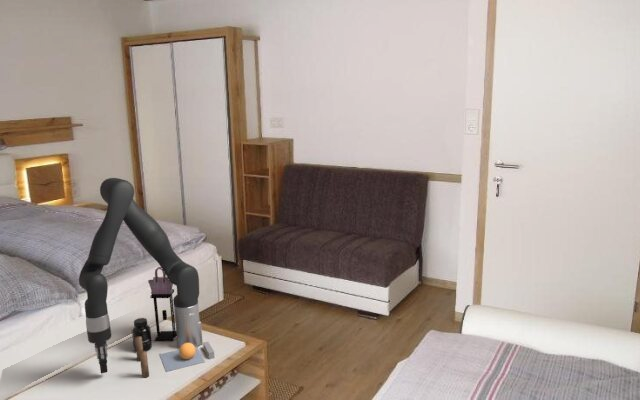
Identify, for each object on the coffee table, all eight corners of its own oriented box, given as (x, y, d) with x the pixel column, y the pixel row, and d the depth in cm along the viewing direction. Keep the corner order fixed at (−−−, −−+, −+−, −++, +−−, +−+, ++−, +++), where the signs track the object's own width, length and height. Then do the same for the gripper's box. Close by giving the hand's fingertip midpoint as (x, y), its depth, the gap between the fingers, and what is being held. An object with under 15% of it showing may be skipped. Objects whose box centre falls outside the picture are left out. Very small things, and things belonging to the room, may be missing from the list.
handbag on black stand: (182, 332, 217) (175, 264, 211) (176, 341, 210) (169, 270, 204) (157, 332, 218) (150, 264, 212) (150, 341, 211) (143, 270, 205)
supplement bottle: (146, 353, 201) (143, 324, 198) (130, 352, 202) (127, 323, 200) (155, 345, 207) (152, 317, 205) (139, 344, 209) (136, 316, 206)
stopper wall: (208, 347, 204) (208, 341, 204) (214, 357, 196) (214, 351, 196) (203, 348, 203) (203, 342, 203) (209, 359, 195) (208, 352, 195)
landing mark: (196, 346, 206) (196, 345, 206) (204, 362, 193) (204, 361, 193) (159, 354, 200) (159, 354, 200) (166, 371, 187) (166, 371, 187)
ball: (187, 336, 198) (174, 348, 197) (189, 343, 193) (176, 355, 191) (197, 347, 200) (185, 358, 199) (200, 353, 195) (187, 365, 194)
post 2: (148, 373, 186) (146, 350, 185) (149, 376, 184) (147, 353, 182) (141, 375, 185) (139, 352, 184) (142, 378, 183) (140, 355, 181)
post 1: (143, 357, 198) (141, 335, 196) (144, 360, 196) (142, 338, 194) (136, 359, 197) (134, 337, 195) (137, 362, 195) (135, 339, 193)
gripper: (111, 331, 177) (117, 378, 180) (108, 317, 188) (113, 360, 192) (87, 336, 174) (93, 383, 177) (85, 321, 185) (91, 366, 189)
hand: (104, 371), depth 185 cm, fingers closed
